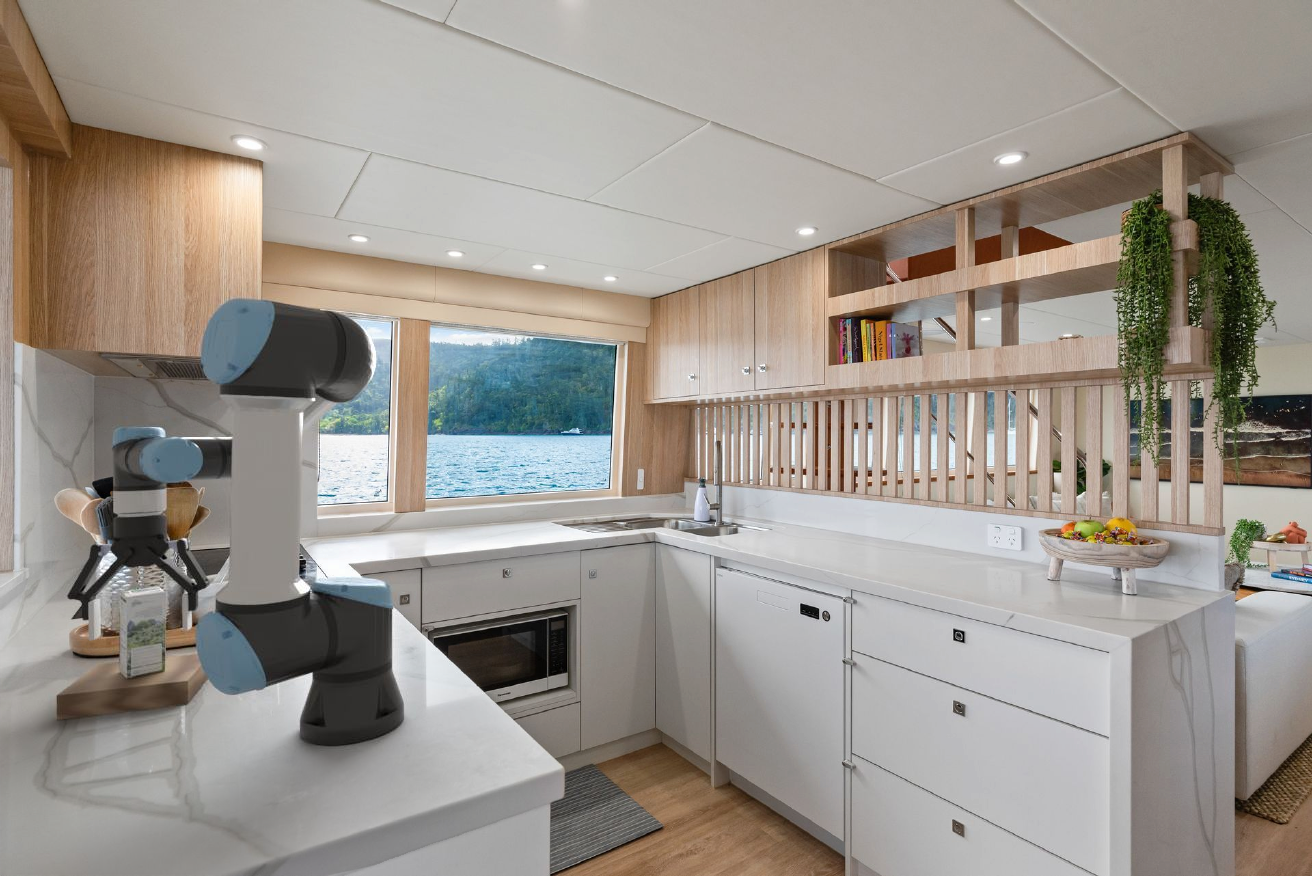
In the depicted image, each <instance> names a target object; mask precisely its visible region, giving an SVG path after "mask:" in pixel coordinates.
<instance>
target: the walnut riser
mask: <svg viewBox="0 0 1312 876" xmlns="http://www.w3.org/2000/svg"><path fill="white" fill-rule="evenodd" d="M207 680H209V679H208V678H207V676H206V674H205V672H204V670H203V668H202V666H201V663H200V660H199V657H198V653H192V654H182V655H173V656H166V669H165V671H161V672H157V673H152V674H148V675H143V676H138V677H133V678H129V679H127V678H126V677H125V676H124V675H123V674H122V673H121V672H120V671H119V661H112V662H103V663H97V664H96V665H95V666H93V667H92V668H90V669H89V670H88V671H86V673H84V674H82V675H81V676H80V677H79V678H77V679H76V680H74V682H72V683H71V684H70V685H68V686H67V687H66V688H63V690H62V691H60V692H59V693H58V694H56V721H61V720H67V719H74V718H75V719H76V718H84V717H93V716H101V715H109V714H117V713H125V712H134V711H142V710H151V709H158V708H159V709H161V708H167V707H174V706H175V707H176V706H181V705H182V706H183V705H189V704H190V703H191V701H192V700H193V698H194V697H195V696H196V695H197V694H198V692H199V691H200V690H201V688H202V687H203V686H204V684H205V683H206V682H207Z"/></svg>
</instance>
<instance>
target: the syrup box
mask: <svg viewBox="0 0 1312 876" xmlns="http://www.w3.org/2000/svg"><path fill="white" fill-rule="evenodd" d="M118 594H119V595H118V598H119V600H118V601H119V603H118V606H119V611H118V613H119V620H118V621H119V625H118V626H119V629H118V630H119V632H118V634H119V635H118V638H119V645H118V647H119V649H118V650H119V651H118V654H119V655H118V657H119V659H118V660H119V661H118V662H119V671H120V672H121V673H122V674H123V675H124V676H125V677H126V678H127V679H129V678H133V677H138V676H143V675H148V674H152V673H157V672H161V671H165V669H166V657H167V655H166V650H167V649H166V647H167V646H166V644H167V641H166V639H167V638H166V637H167V636H166V634H167V633H166V631H167V630H166V629H167V616H166V615H167V593H166V592H165V591H164V589H163V588H161V587H160V586H153V587H146V588H139V589H133V590H124V591H120V592H119V593H118Z"/></svg>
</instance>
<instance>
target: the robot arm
mask: <svg viewBox="0 0 1312 876" xmlns="http://www.w3.org/2000/svg"><path fill="white" fill-rule="evenodd" d="M375 348H376V347H375V346H374V343H373V341H372V338H371V336H370V335H369V333H368V332H367V331H366V329H365V328H364V327H363V326H362V324H359V322H358V321H356V320H355V319H353V318H352V317H350V316H347V315H345V314H343V313H340V312H338V311H333V310H321V309H317V308H312V307H305V306H301V305H295V304H290V303H289V304H288V303H284V302H280V301H279V302H278V301H273V300H272V301H271V300H269V299H254V298H242V297H241V298H240V297H239V298H238V297H236V298H231V299H229V300H226V301H225V302H223V303H222V304H221V305H219V306H218V307H217V308H216V309H215V311H214V312H213V314H212V316H210V318H209V320H208V322H207V324H206V327H205V330H204V332H203V336H202V341H201V347H200V349H201V350H200V363H201V365H202V366H203V368H202V371H203V373H204V376H205V377H206V378H207V380H209V381H211V382H213V383H214V384H216V385H219V398H220V399H221V400H223V402H225V404H227V405H228V406H229V407H230V409H231V410H232V423H231V425H232V426H231V427H232V428H231V429H232V430H231V432H232V433H231V436H229V437H227V436H226V437H224V436H222V437H221V436H219V437H218V436H217V437H216V436H215V437H212V436H211V437H201V436H200V437H192V436H191V437H181V436H166V431H165V429H164V428H162V427H156V426H154V427H153V426H152V427H151V426H146V427H144V426H133V427H132V426H127V427H123V426H122V427H118V428H116V429H115V430H114V431H113V433H112V435H113V436H112V445H111V451H112V480H113V481H112V482H113V483H112V485H113V487H112V488H113V489H112V490H113V491H112V492H113V494H112V495H113V499H112V500H113V504H112V506H113V508H112V510H113V514H115V515H117V516H115V517H114V518H113V542H112V543H111V544H110V543H109V544H108V543H107V544H106V543H104V542H96V543H94V544H91V546H90V550H89V556H88V559H87V560H86V563H85V564H84V565H83V568H82V569H81V572H79V574H78V576H77V578H76V580H75V582H74V583H73V585H72V586H71V588H70V590H69V592H68V593H67V595H66V596H67V599H69V600H75V601H79V602H80V604H81V618H82V621H88V641H95V640H97V639H98V638H100V637H101V635H102V632H101V629H102V628H101V627H102V626H101V622H102V620H101V598H96V596H98V594H99V593H100V592H101V591H102V590H103V589H104V588H105V587H106V586H107V584H109V583H110V582H111V581H112V580H113V579H114V578H115V576H116V575H117V574H119V572H120V571H122V569H124V568H125V567H126V568H128V569H132V568H138V567H143V568H148V567H151V566H154V565H155V566H157V567H158V568H159V569H160V570H162V571H163V572H164V573H166V574H167V576H169V577H170V578H171V579H172V580H173V581H174V582H176V583H177V584H178V585H179V586H180V587H181V588H182V589H183V590H184V591H185V592H184V593H183V594H182V595H181V596H182V597H181V598H182V599H181V600H182V601H181V602H182V603H181V606H182V608H181V610H182V612H181V613H182V617H181V618H182V632H188V631H190V629H192V627H193V615H192V614H193V611H196V610H197V609H198V608H199V592H200V591H202V590H205V589H207V587H210V584H211V582H210V580H209V578H208V576H207V575H206V574H205V571H204V570H203V568H202V567H201V565H200V564H199V562H198V561H197V559H196V557H195V556H194V554H193V553H192V551H191V549H190V541H189V539H188V538H186V537H182V538H181V539H176V540H169V539H168V519H167V518H168V515H166V513H163V512H164V511H166V510H167V508H168V507H167V495H168V494H167V484H170V483H173V484H174V483H176V484H177V483H182V482H189V481H205V480H208V481H209V480H224V479H225V480H226V479H228V480H229V479H230V515H229V516H230V517H229V518H230V519H229V520H230V521H229V524H230V525H229V560H228V561H229V566H228V576H229V577H228V582H227V583H226V584H225V585H224V586H223V587H222V588H221V589H220V590H219V591H218V592H216V594H215V607H214V611H213V610H212V611H208V612H207V613H206V614H203V615H202V616H201V617H200V618H199V620H198V621H197V624H196V628H195V646H196V651H197V652H196V654H198V657H199V660H200V663H201V666H202V668H203V670H204V672H205V674H206V676H207V678H208V679H207V680H208V681H209V682H210V683H211V685H212V686H213V687H214V688H215V689H217V690H218V691H219V692H220V693H222V694H224V695H228V696H236V695H237V696H238V695H242V694H245V693H249V692H253V691H261V690H264V689H265V688H268V687H272V686H274V685H277V684H280V683H284V682H288V681H289V680H293V679H296V678H299V677H303V676H306V675H309V674H312V679H311V683H310V684H311V685H310V687H309V690H308V693H307V696H306V700H305V702H304V705H303V709H302V711H301V714H300V719H299V736H300V737H301V739H302V740H304V741H306V742H308V743H311V744H314V745H316V744H317V745H324V746H325V745H326V746H328V745H329V746H338V745H348V744H349V745H350V744H355V743H361V742H363V741H368V740H371V739H374V738H377V737H380V736H382V735H385V734H387V733H389V732H391V731H392V730H394V729H395V728H397V727H398V726H400V725H401V723H402V722H403V721H404V718H405V702H404V699H403V696H402V693H401V690H400V687H399V686H398V683H397V680H396V677H395V673H394V671H393V610H394V606H393V605H394V604H393V596H392V595H393V593H392V588H391V586H390V585H389V584H388V583H387V582H386V581H383V580H381V579H376V578H369V577H356V576H355V577H354V576H353V577H352V576H351V577H349V576H347V577H346V576H340V577H339V576H338V577H335V576H334V577H325V578H318V579H314V580H313V581H312V584H311V585H309V584H308V583H307V582H306V581H304V580H303V579H302V578H301V576H300V558H301V557H300V553H301V552H300V549H301V548H300V547H301V545H300V544H301V543H300V542H301V513H302V512H301V509H302V505H301V504H302V471H303V470H302V469H303V468H302V465H303V434H305V433H306V432H307V431H308V430H309V429H310V428H312V427H313V426H314V425H315V424H316V423H317V422H318V421H320V419H322V418H323V417H324V416H326V414H327V413H329V412H330V411H331V410H332V409H333V408H334V407H335V406H336V405H338V404H346V403H348V402H351V401H352V400H353V399H355V398H356V397H357V396H358V395H360V394H361V393H362V392H363V391H364V389H366V387H368V385H369V383H370V381H371V380H372V378H373V376H374V373H375V370H376V364H377V355H376V353H377V352H376V349H375ZM170 548H171V549H172V550H173V551H174V552H176V553H177V554H178V556H179V558H180V560H181V562H183V564H184V566H185V567H186V569H187V570H188V572H189V574H190V575H191V576H192V579H191V578H190V576H188V575H187V574H186V573H185V572H184V571H183V570H182V569H180V568H179V567H178V566H177V564H175V563H174V562H173V561H172V559H171V558H170V557H169V556H168V555H167V554H166V553H167V551H168V550H169V549H170ZM109 552H111V553H112V554H113V555H114V556H115V557H116V559H115V560H114V561H113V562H112V564H111V565H110V566H109V568H107V569H106V570H105V571H104V573H103V574H101V576H100V577H98V579H97V580H96V581H94V583H93V584H92V585H91V586H90V587H89V588H88V589H86V588H87V586H88V584H89V582H90V580H91V579H92V577H93V576H94V574H95V573H96V570H97V569H98V567H99V565H100V563H101V562H102V560H103V558H104V557H105V556H108V554H109ZM85 589H86V591H85Z"/></svg>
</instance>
